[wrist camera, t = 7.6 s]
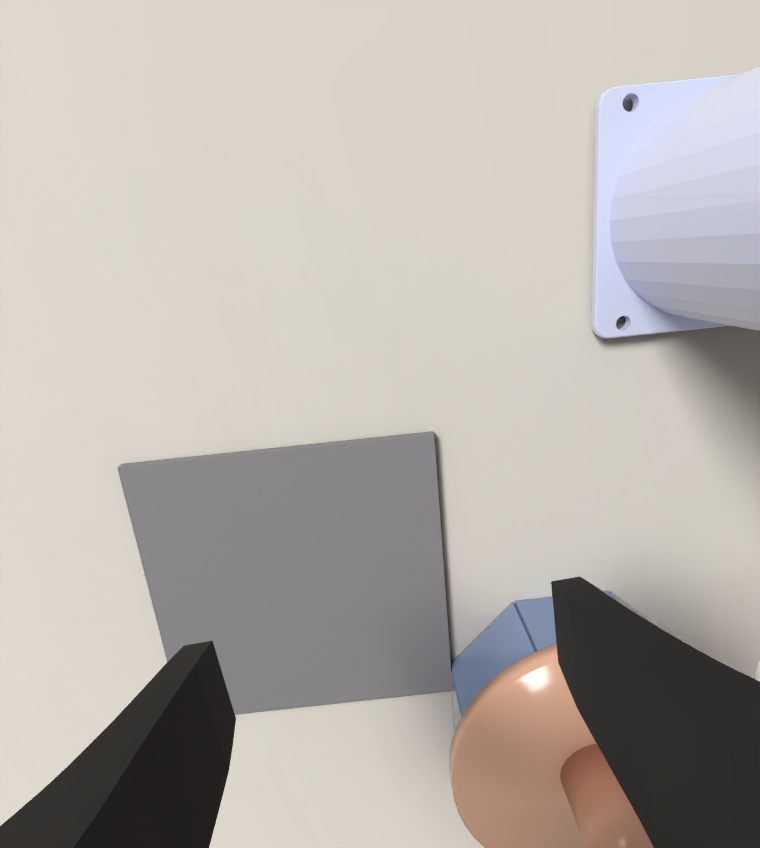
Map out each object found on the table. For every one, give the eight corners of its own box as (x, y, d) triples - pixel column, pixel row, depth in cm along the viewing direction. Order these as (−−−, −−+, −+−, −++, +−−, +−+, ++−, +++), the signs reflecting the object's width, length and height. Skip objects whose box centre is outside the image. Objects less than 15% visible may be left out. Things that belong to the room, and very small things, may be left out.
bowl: (677, 583, 23) (730, 638, 20) (664, 762, 26) (708, 835, 23) (445, 608, 23) (460, 666, 20) (458, 785, 26) (472, 861, 23)
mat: (433, 431, 21) (434, 434, 21) (451, 684, 25) (452, 690, 24) (121, 463, 21) (117, 467, 21) (185, 712, 24) (182, 720, 24)
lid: (623, 581, 19) (706, 683, 15) (778, 755, 22) (890, 887, 17) (390, 753, 21) (399, 890, 16) (559, 893, 24) (608, 1046, 19)
